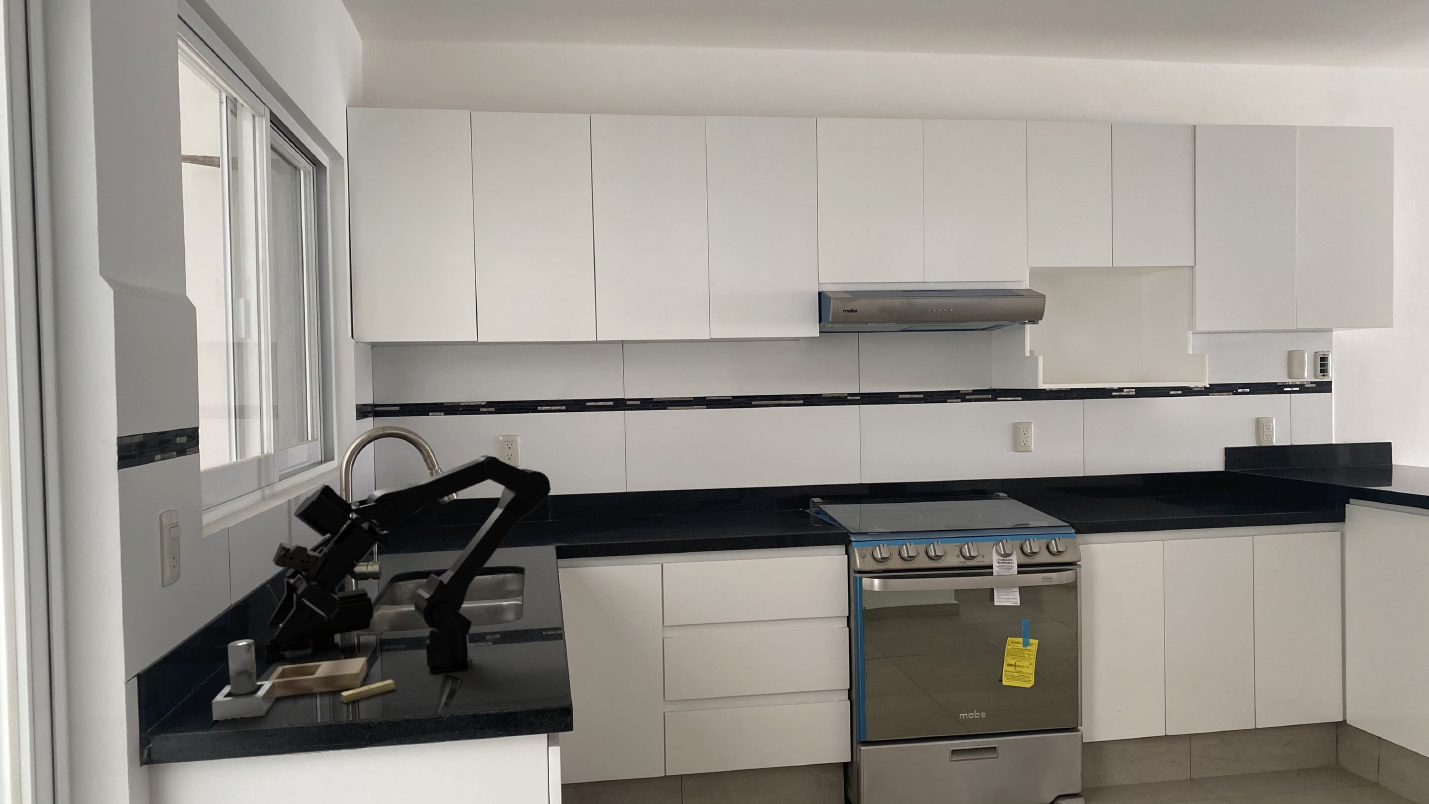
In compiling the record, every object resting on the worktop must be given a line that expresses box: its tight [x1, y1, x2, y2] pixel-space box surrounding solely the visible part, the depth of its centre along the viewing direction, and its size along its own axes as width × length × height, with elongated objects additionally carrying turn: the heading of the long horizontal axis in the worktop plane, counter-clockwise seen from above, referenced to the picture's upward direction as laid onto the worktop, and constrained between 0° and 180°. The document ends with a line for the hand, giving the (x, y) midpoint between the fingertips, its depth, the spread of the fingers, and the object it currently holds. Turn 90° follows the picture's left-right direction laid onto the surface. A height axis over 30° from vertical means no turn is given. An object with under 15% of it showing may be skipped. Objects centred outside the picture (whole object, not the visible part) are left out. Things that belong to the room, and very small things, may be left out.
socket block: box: [211, 680, 277, 722], centre depth 140 cm, size 7×7×3 cm
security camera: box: [264, 588, 374, 662], centre depth 168 cm, size 7×18×10 cm, turn 121°
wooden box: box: [267, 657, 368, 698], centre depth 150 cm, size 14×8×2 cm, turn 102°
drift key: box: [340, 679, 396, 704], centre depth 144 cm, size 8×2×1 cm, turn 132°
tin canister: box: [227, 639, 258, 697], centre depth 140 cm, size 4×4×10 cm
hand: (273, 633), depth 142 cm, fingers open, 9 cm apart
